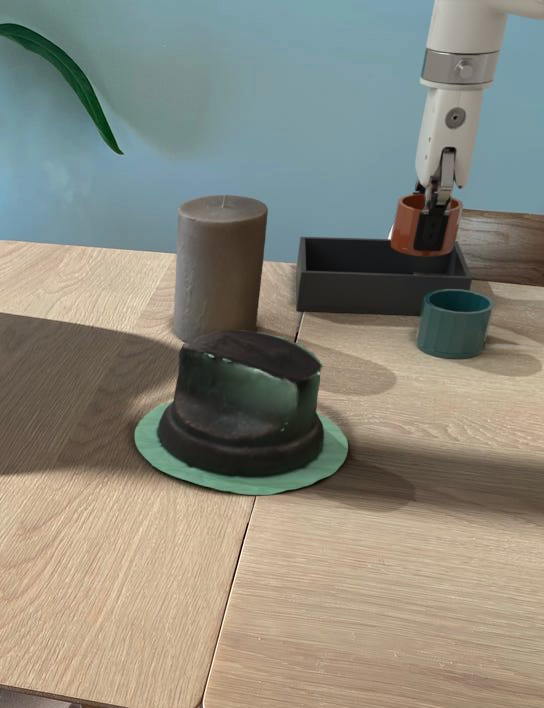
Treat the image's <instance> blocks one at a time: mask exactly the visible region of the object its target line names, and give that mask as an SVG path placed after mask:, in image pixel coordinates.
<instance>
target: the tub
mask: <svg viewBox="0 0 544 708" xmlns="http://www.w3.org/2000/svg"><path fill="white" fill-rule="evenodd" d="M390 242H391V238H364V237H363V238H361V237H359V238H358V237H326V236H325V237H323V236H300V237H299V245H298V253H297V254H298V255H297V261H296V269H295V310H296V311H297V312H317V313H318V312H319V313H341V314H343V313H344V314H367V315H368V314H369V315H388V316H389V315H392V316H416V317H418V316H419V317H420V313H421V308H422V304H423V299H424V297H425V296H426V295H427V294H428V293H430V292H433V291H436V290H443V289H461V290H468V291H471V286H472V282H473V277H472V274H471V272H470V269H469V267H468V264H467V261H466V260H465V256H464V253H463V252H462V249H461V246H460V244H459V241H457V240H455V244H454V246H453V250H452V251H451V252H450V253H448V254H445V255H441V256H431V257H424V256H413V255H408V254H404V253H401V252H398V251H396V250H394V249H393V248H392V247H391V246H390ZM414 273H416V274H414ZM435 274H436V275H435ZM439 274H442V275H439ZM443 274H444V275H443ZM445 274H446V275H445Z"/></svg>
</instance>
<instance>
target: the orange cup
mask: <svg viewBox="0 0 544 708" xmlns="http://www.w3.org/2000/svg"><path fill="white" fill-rule="evenodd" d="M433 195H434V194H431V199H432V196H433ZM424 198H425V194H413V193H412V194H411V193H410V194H407V195H403V196H401V197H399V198H398V199H397V202H396V207H395V213H394V218H393V224H392V228H391V235H390V239H391V242H390V246H391V247H392V248H393V249H394V250H396V251H398V252H401V253H404V254H408V255H413V256H424V257H431V256H441V255H445V254H448V253H450V252H451V251H452V250H453V246H454V244H455V241H457V236H458V231H459V226H460V223H461V218H462V214H463V210H464V209H463V208H464V203H463V202H462V200H460V199H458V198H456V197H452V198H451V205H450V212H449V219H448V224H447V228H446V233H445V237H444V242H443V247H442V249H441V250H440V251H424V250H414V248H413V243H414V238H415V233H416V228H417V223H418V218H419V213H423V205H424ZM430 202H431V201H430Z"/></svg>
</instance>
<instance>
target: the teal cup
mask: <svg viewBox="0 0 544 708" xmlns="http://www.w3.org/2000/svg"><path fill="white" fill-rule="evenodd" d="M495 307H496V304H495V301H494V300H493V298H491V297H489V296H488V295H486V294H483V293H480V292H477V291H473V290H469V291H468V290H461V289H443V290H436V291H433V292H430V293H428V294H427V295H426V296H425V297H424V299H423V304H422V308H421V313H420V316H419V317H418V318H419V319H418V323H417V328H416V332H415V340H414V344H415V346H416V348H417V349H418V350H420V351H421V352H423V353H424V354H427V355H430V356H434V357H437V358H438V357H439V358H442V359H453V360H458V359H459V360H461V359H470V358H475V357H476V356H479V355H480V354H482V352H483V350H484V347H485V345H486V341H487V338H488V334H489V330H490V326H491V323H492V320H493V319H492V318H493V314H494V310H495Z"/></svg>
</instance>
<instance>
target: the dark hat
mask: <svg viewBox="0 0 544 708" xmlns="http://www.w3.org/2000/svg"><path fill="white" fill-rule="evenodd" d="M323 366H324V365H323V362H321V360H320V359H319V358H318V357H317V356H316V355H315V353H314V352H312V351H310V350H309V348H306V346H305V345H304V344H300V343H298V342H294V341H291V340H289V339H287V338H285V337H283V336H278V335H273V334H269V333H265V332H258V331H257V332H253V331H245V330H225V331H216V332H213V333H209V334H206V335H202V336H200V337H197V338H194V339H192V340H190V341H188V342H185V343H183V344H182V346H181V348H180V350H179V353H178V374H177V378H176V384H175V389H174V394H173V395H174V396H173V400H172V401H170V402H165V403H163V404H161V405H160V404H159V405H157V406H156V407H155V408H153V409H152V410H151V411H149V412H148V413H147V414H145V415H144V416H143V418H142V419H140V420H139V421H138V424H137V425H136V427H135V430H134V443H135V445H136V448H137V450H138V451H139V453H140V454H141V455H142V456H143V457H144V459H146V460H147V461H148V462H149V463H150V464H151V466H153V467H155V468H156V469H157V470H159V471H161V472H163V473H166V474H167V475H170V476H172V477H174V478H178V479H180V480H184V481H188V482H191V483H194V484H196V485H199V486H203V487H208V488H211V489H214V490H218V491H223V492H231V493H233V494H235V493H236V494H239V495H248V496H249V495H250V496H251V495H252V496H269V495H275V494H278V493H282V492H285V491H291V490H297V489H300V488H304V487H308V486H310V485H313V484H314V483H316V482H318V481H320V480H322V479H324V478H327V477H330V476H332V475H333V474H335V473H336V472H337V471H338V470H339V468H340V467H341V466H342V465H343V464H344V462H345V460H346V459H347V455H348V451H349V443H348V439H347V437H346V435H345V434H344V433H343V431H342V430H341V429H340V427H339V425H336V424H335V422H333V420H331V419H330V418H328V417H327V416H325V415H323V414H321V413H320V412H318V411H317V409H318V408H317V407H318V396H319V390H320V383H321V374H322V372H321V370H323Z"/></svg>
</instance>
